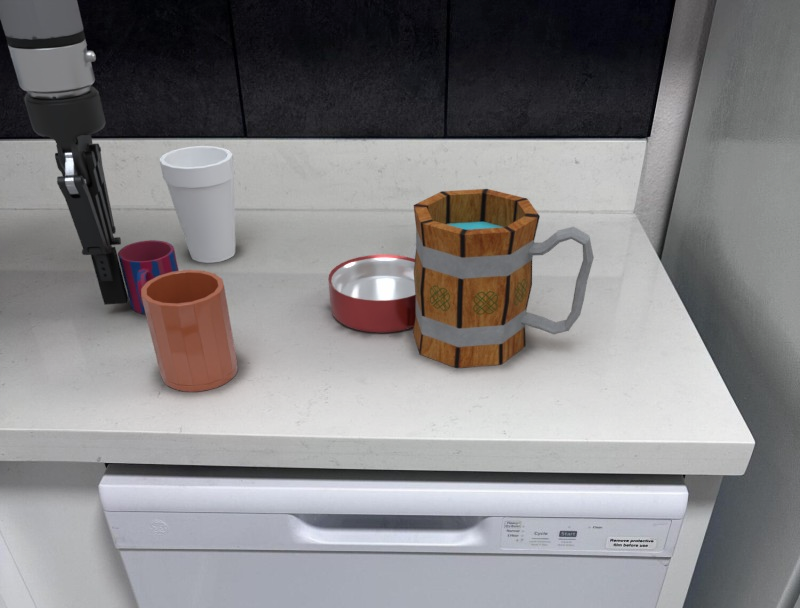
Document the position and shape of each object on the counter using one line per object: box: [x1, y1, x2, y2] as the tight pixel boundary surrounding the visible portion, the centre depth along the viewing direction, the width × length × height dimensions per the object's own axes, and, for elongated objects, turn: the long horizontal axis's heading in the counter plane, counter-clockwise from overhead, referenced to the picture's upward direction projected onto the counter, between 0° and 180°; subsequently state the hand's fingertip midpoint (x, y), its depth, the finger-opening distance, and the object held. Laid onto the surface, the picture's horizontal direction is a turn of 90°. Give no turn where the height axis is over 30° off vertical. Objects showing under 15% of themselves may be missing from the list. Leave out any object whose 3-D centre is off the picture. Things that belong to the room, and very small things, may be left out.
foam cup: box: [159, 145, 236, 264], centre depth 108 cm, size 10×9×13 cm
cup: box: [117, 239, 179, 315], centre depth 98 cm, size 7×10×7 cm
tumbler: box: [141, 269, 239, 393], centre depth 85 cm, size 8×8×10 cm
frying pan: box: [327, 243, 416, 334], centre depth 103 cm, size 32×13×6 cm, turn 164°
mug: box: [412, 188, 595, 369], centre depth 87 cm, size 20×14×15 cm
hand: (116, 301), depth 98 cm, fingers closed
